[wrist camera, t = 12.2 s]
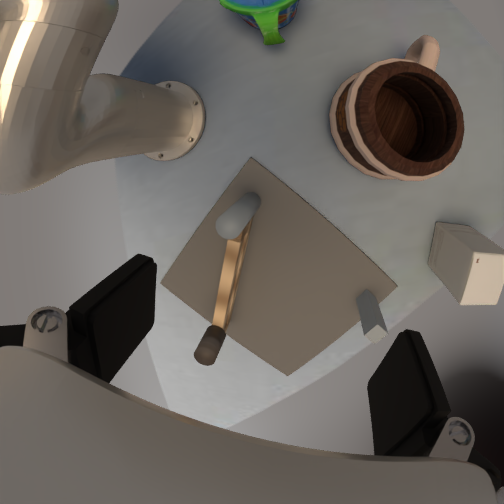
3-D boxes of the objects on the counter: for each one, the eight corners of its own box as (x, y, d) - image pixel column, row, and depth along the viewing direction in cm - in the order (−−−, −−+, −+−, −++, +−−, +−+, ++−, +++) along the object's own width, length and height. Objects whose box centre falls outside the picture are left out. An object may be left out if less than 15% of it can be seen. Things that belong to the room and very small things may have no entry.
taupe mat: (161, 282, 50) (160, 283, 50) (251, 157, 39) (250, 157, 39) (287, 374, 53) (287, 376, 52) (396, 285, 42) (397, 286, 41)
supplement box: (426, 265, 40) (457, 306, 28) (435, 220, 37) (474, 250, 25) (461, 267, 38) (496, 306, 27) (471, 225, 36) (513, 255, 24)
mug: (404, 194, 37) (449, 223, 23) (311, 148, 37) (313, 151, 23) (448, 81, 29) (502, 63, 15) (358, 32, 29) (379, -16, 15)
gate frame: (238, 202, 42) (210, 228, 30) (250, 187, 41) (225, 207, 29) (364, 306, 44) (377, 359, 32) (376, 295, 43) (393, 346, 31)
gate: (238, 212, 41) (210, 241, 30) (258, 217, 41) (237, 249, 30) (217, 319, 49) (192, 368, 38) (233, 324, 49) (212, 374, 37)
